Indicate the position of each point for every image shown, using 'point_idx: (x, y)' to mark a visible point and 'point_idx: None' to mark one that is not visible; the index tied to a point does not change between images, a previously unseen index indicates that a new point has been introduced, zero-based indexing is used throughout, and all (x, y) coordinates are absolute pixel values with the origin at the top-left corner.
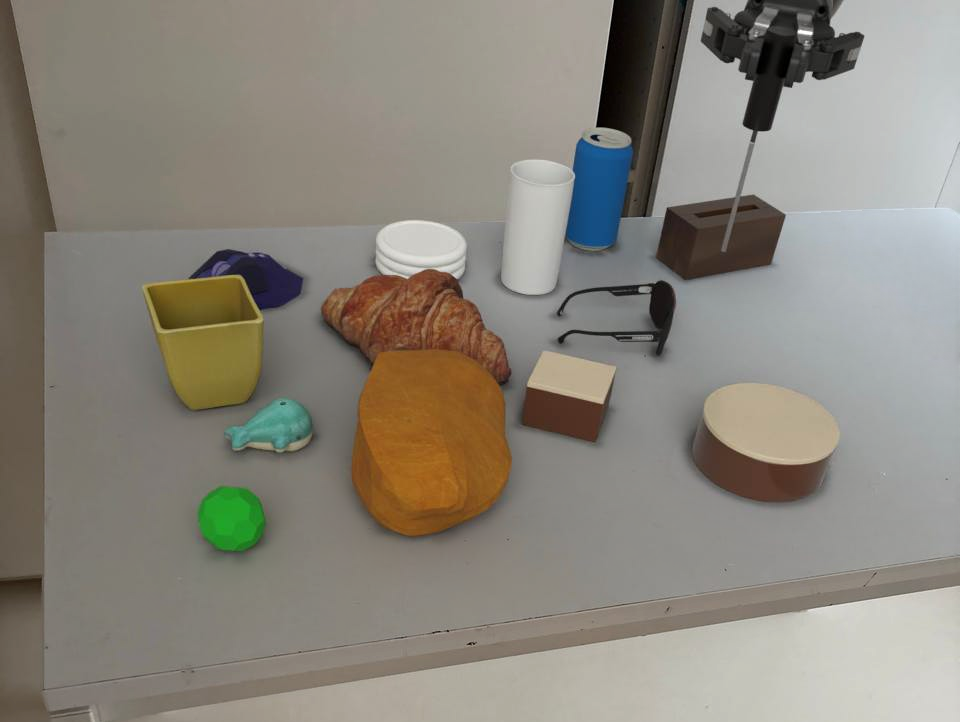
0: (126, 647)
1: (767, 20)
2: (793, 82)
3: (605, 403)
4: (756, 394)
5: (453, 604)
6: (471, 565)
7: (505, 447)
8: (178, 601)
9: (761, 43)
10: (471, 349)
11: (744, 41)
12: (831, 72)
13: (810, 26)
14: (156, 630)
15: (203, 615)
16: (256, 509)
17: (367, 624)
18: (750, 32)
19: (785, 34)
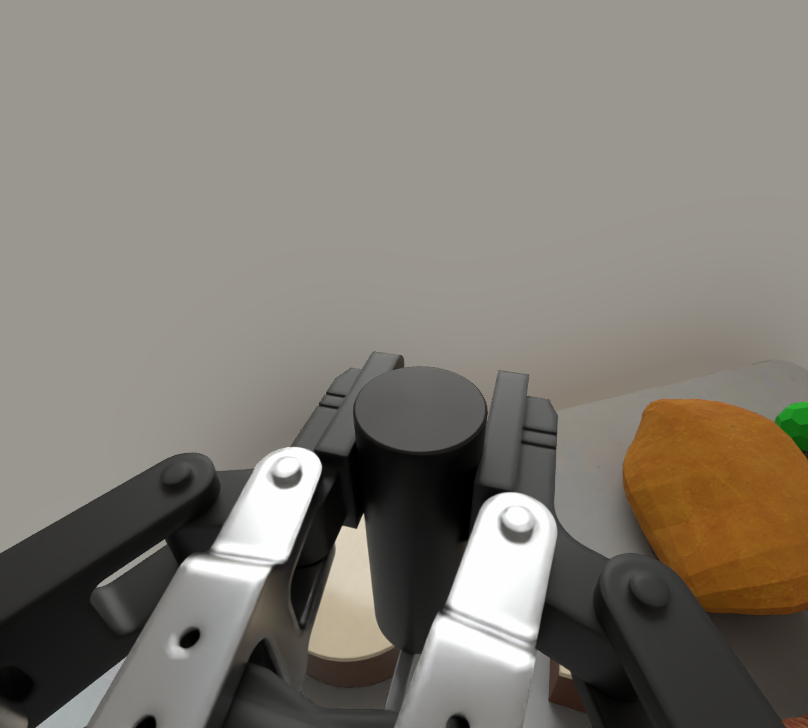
0: (776, 375)
1: (453, 643)
2: None
3: None
4: (357, 624)
5: (612, 413)
6: (615, 441)
7: (641, 485)
8: (781, 401)
9: (494, 426)
10: (805, 726)
11: (560, 530)
12: (157, 554)
13: (179, 597)
14: (772, 385)
15: (756, 394)
16: (789, 414)
17: (657, 397)
18: (547, 523)
19: (416, 370)
